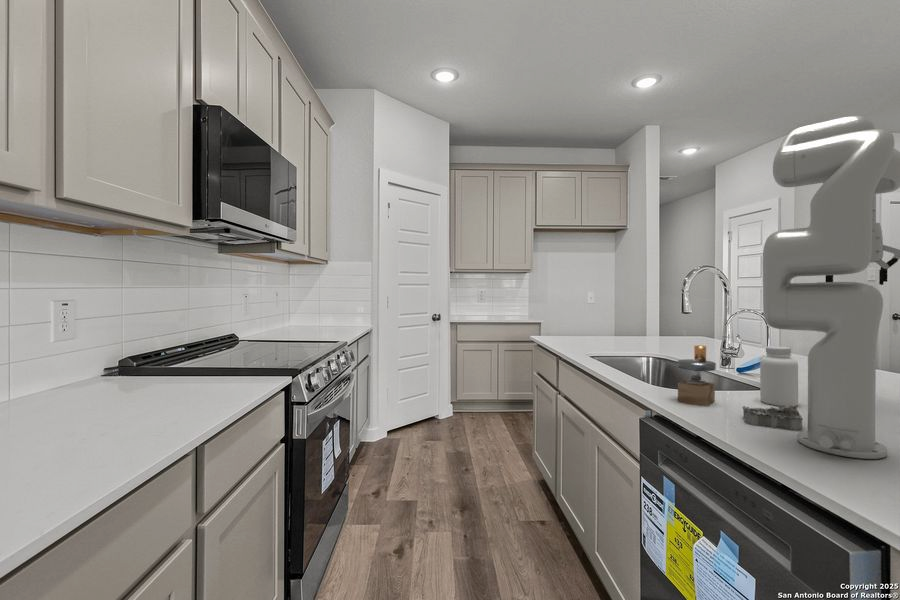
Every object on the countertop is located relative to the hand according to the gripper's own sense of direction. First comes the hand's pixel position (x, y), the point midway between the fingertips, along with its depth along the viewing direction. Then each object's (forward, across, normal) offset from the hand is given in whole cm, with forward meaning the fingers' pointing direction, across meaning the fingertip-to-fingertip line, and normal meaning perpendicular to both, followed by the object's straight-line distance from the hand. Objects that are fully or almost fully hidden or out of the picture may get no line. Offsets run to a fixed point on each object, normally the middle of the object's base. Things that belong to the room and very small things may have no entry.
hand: (855, 285), depth 111 cm
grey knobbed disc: (+25, -30, -27) cm, 47 cm away
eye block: (+31, -30, -27) cm, 51 cm away
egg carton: (+32, -12, -36) cm, 49 cm away
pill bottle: (+31, -14, -14) cm, 37 cm away
